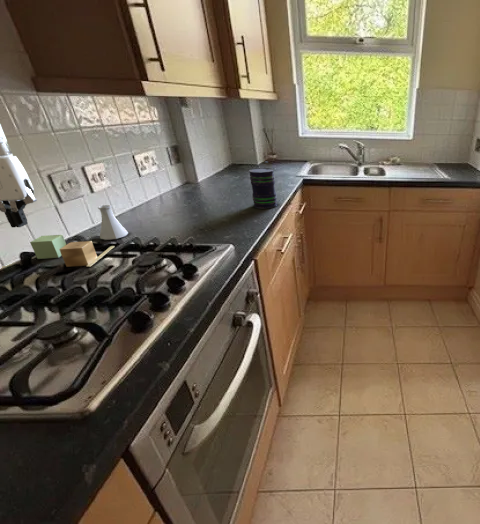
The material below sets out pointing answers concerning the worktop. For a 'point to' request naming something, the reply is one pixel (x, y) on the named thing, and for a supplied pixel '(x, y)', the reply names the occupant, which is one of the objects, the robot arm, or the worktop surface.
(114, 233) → the flask
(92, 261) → the tape strip
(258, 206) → the storage jar
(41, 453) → the worktop surface
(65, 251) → the beech block
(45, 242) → the sage block
